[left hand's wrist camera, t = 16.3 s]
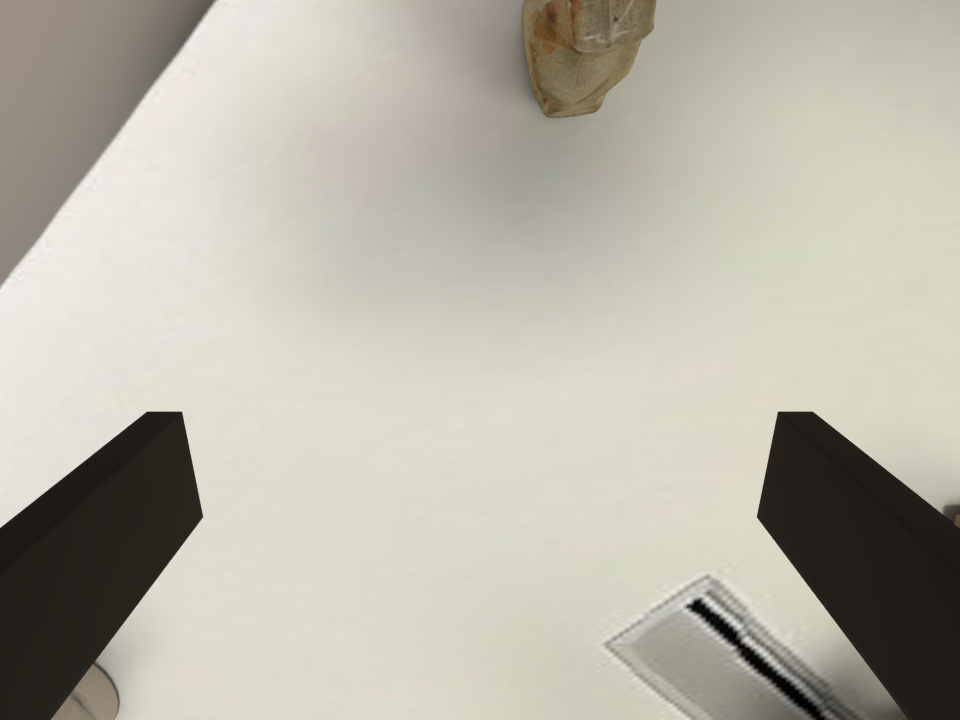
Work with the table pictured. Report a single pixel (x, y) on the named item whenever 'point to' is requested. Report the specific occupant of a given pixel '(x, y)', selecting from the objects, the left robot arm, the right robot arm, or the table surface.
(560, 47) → the sculpture
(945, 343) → the table surface
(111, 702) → the bust sculpture
